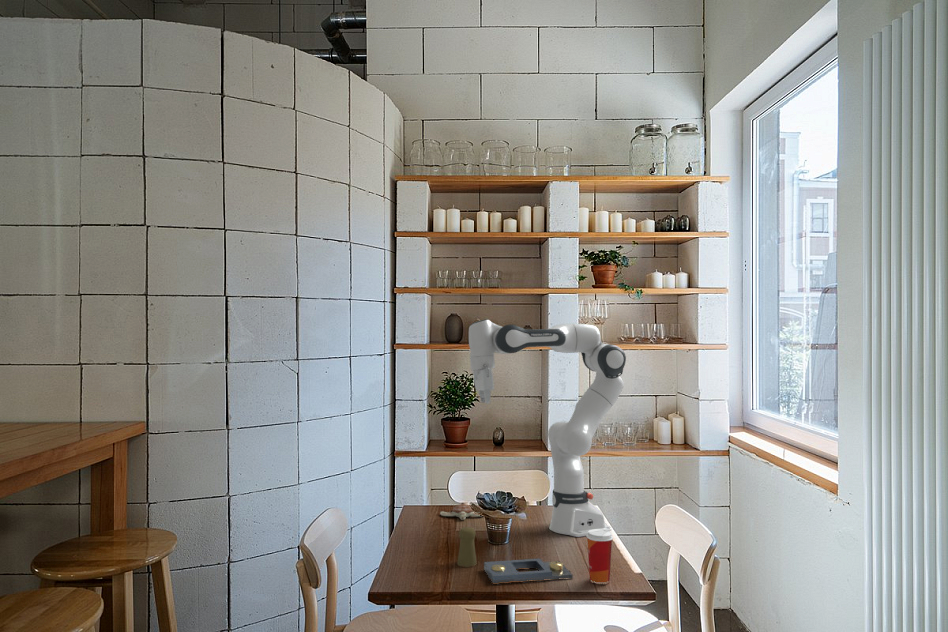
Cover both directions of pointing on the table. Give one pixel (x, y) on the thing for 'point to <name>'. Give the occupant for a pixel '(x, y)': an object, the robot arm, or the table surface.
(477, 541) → the table surface
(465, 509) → the decorative turtle
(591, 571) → the paper cup
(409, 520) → the table surface
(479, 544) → the table surface
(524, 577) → the slotted plate with knobs
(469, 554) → the olive green pepper mill
